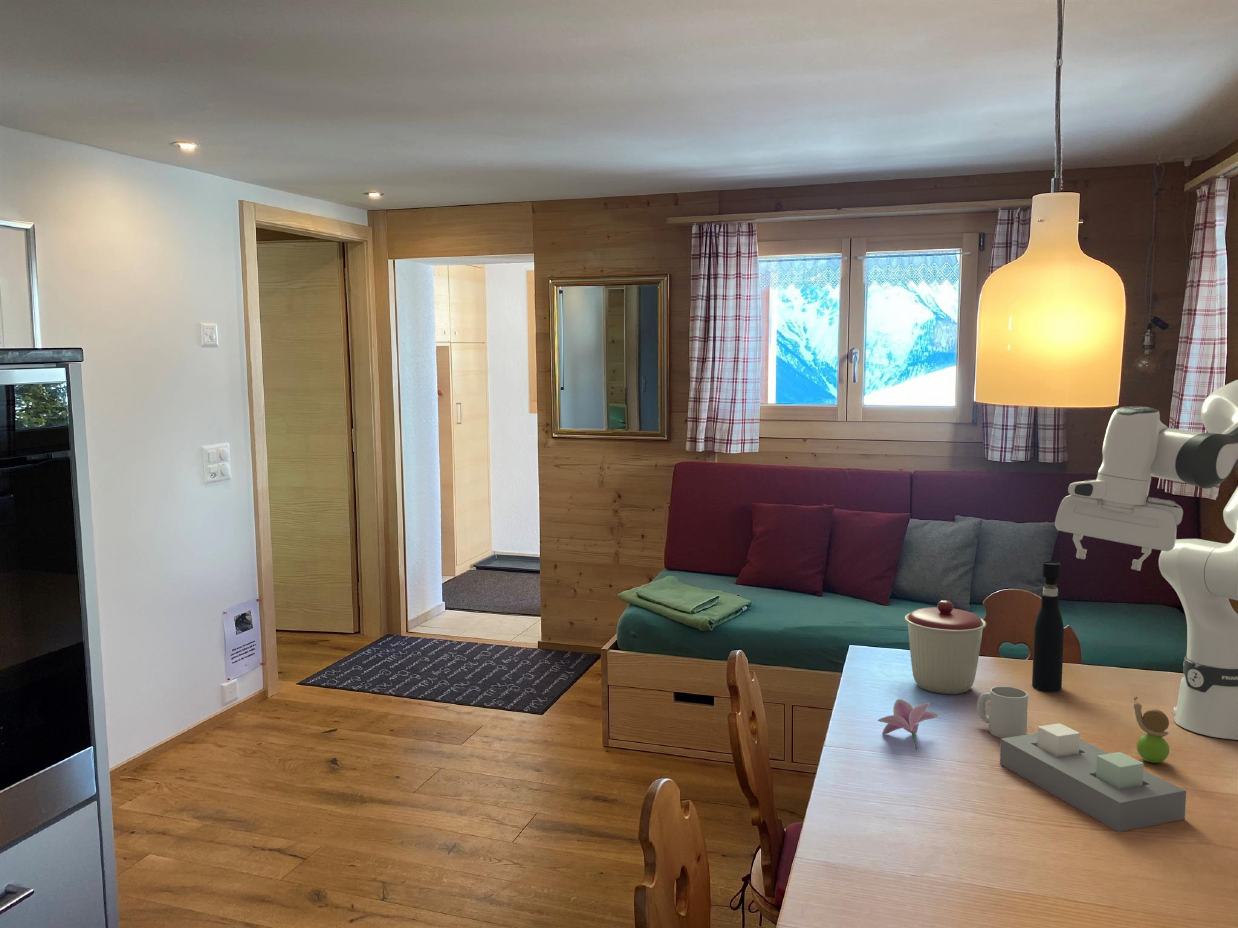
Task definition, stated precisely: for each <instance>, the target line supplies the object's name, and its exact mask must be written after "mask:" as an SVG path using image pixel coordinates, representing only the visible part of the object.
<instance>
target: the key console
mask: <svg viewBox="0 0 1238 928" xmlns="http://www.w3.org/2000/svg"><path fill="white" fill-rule="evenodd" d="M1037 737H1038V732H1036V733H1030V734H1029V733H1028V734H1026V735H1021V736H1015V737H1008V738H1000V749H999V750H1000V754H999V765H1001V766H1003V767H1004V768H1006V769H1008V770H1009V771H1011V772H1014V773H1015V774H1017V775H1019V776H1021V777H1022V778H1024V779H1025V780H1027V781H1029V782H1031V783H1033V784H1034V785H1036V786H1038V787H1039V788H1040V789H1043V790H1044V791H1046V792H1048V793H1050V794H1051V795H1053V796H1054V797H1057V798H1059V800H1061V801H1063V802H1066V803H1067V804H1069V805H1071V806H1072V807H1073V808H1076V809H1078V810H1079V811H1081V812H1082V813H1085V814H1086V815H1088V816H1089V817H1092V818H1094V819H1095V820H1096V821H1099V822H1100V823H1101V824H1104V825H1105V826H1107V827H1109V828H1111V829H1112V830H1114V831H1116V832H1118V833H1121V832H1126V831H1131V830H1137V829H1140V828H1146V827H1152V826H1157V825H1163V824H1167V823H1171V822H1178V821H1182V820H1185V819H1186V802H1187V790H1186V789H1184V788H1183V787H1180V786H1178V785H1176V784H1174V783H1173V782H1169V781H1168V780H1166V779H1163V778H1161V777H1159V776H1157V775H1155V774H1153V773H1151V772H1148V771H1147V770H1145V769H1143V786H1138V787H1133V788H1127V789H1122V790H1119V789H1117V788H1115V787H1113V786H1111V785H1109V784H1107V783H1105V782H1103V781H1102V780H1100V779H1098V778H1096V764H1097V756H1098V755H1104V754H1110V752H1108V751H1105V750H1104V749H1101V748H1099V747H1098V746H1095V745H1093V744H1091V743H1089V742H1086V741H1085V740H1084V739H1083V740H1082V739H1081V738H1080V743H1079V754H1073V755H1067V756H1061V757H1056V756H1054V755H1052V754H1050V753H1048V752H1046V751H1044V750H1042V749H1040V748H1038V747H1037Z"/></svg>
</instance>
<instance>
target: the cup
mask: <svg viewBox="0 0 1238 928" xmlns="http://www.w3.org/2000/svg"><path fill="white" fill-rule="evenodd" d="M988 700H989V713H988V714H987V711H986V708H985V707H986V703H987V701H988ZM1028 704H1029V693H1028V692H1027V691H1026V690H1024V689H1022V688H1018V687H1016V686H1015V687H1014V686H1007V685H1001V686H1000V685H998V686H993V687H991V688H990V690H989V691H985V692H982V693H981V694H980V695H979V696H978V699H977V704H976V707H977V713H978V716H979V718H980V719H981V721H983V722H984V723H985V724H988V730H989V733H990V734H991V735H992V736H994V737H996V738H999V739H1002V738H1008V737H1015V736H1021V735H1027V729H1028V728H1027V727H1028V707H1029V706H1028Z"/></svg>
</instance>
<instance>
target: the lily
mask: <svg viewBox="0 0 1238 928" xmlns="http://www.w3.org/2000/svg"><path fill="white" fill-rule="evenodd" d="M930 705H931V702H925V703H922V704H920V705H917V706H916V707H913V705H912V704H910V703H909V702H907V701H906V700H903V699H900V698H899V699H896V700H895V702H894V705H893V714H892V715H888V716H884V717H881V718H878V719H877V721H878V722H880V723H885V724H886V725H885V727H884V728H883V730H882V733H881V734H882V735H887V734H890V733H892V732H894V731H896V730H900V729H903V730H905V731H906V732H908V733H910V734H911V736H912V740H913V744H914V748H915V750H918V746H917V744H916V740H915V735H917V734H918V733H917V732H918V729H919V723H921V722H924V721H927V720H930V719H935V718H939V717H940V714H938V713H936V712H933V711H929V710H927V709H929V707H930Z"/></svg>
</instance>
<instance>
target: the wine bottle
mask: <svg viewBox="0 0 1238 928" xmlns="http://www.w3.org/2000/svg"><path fill="white" fill-rule="evenodd" d="M1061 565H1062V564H1061V563H1060V562H1058V561H1051V560H1050V561H1043V562H1042V566H1041V567H1042V568H1041V577H1042V578H1044V586H1043V587H1042V594H1041V599H1040V600H1041V602H1040V603H1041V604H1040V607H1039V611H1038V613H1037V615H1036V618H1035V621H1034V626H1033V648H1032V649H1033V650H1032V674H1031V675H1032V677H1031V679H1032V680H1031V686H1032V688H1034V689H1035V690H1038V691H1040V692H1041V691H1042V692H1047V693H1055V692H1057V693H1058V692H1061V691H1062V689H1063V688H1062V686H1063V663H1064V639H1065V637H1064V635H1065V633H1064V632H1065V628H1064V627H1065V626H1064V622H1063V615H1062V614H1061V610H1060V607H1059V606H1060V605H1059V604H1060V596H1059V589H1058V587H1057V586H1058V584H1057V582H1058V581H1057V580H1058V579H1060V578H1061Z"/></svg>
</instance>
